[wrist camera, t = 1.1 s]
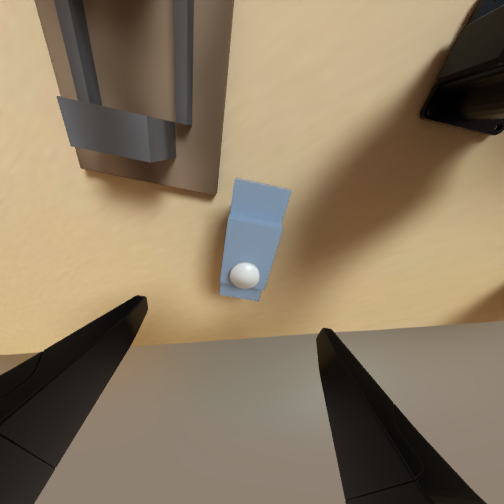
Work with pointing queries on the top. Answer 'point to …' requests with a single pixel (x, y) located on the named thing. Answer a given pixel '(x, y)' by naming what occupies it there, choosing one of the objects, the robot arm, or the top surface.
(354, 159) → the top surface
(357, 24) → the top surface
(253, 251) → the block
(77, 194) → the top surface
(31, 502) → the robot arm
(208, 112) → the pocket board
